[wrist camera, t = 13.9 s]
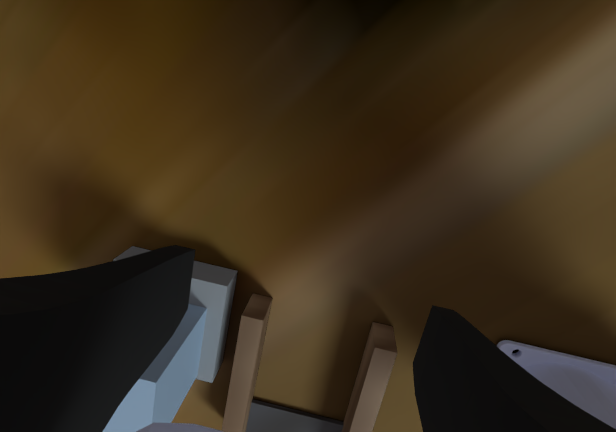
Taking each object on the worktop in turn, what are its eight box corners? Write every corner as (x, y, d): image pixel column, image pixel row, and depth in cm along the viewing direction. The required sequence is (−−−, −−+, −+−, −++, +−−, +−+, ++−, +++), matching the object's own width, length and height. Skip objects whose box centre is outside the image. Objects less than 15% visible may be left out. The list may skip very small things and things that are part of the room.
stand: (237, 271, 24) (227, 286, 22) (222, 361, 25) (212, 382, 24) (132, 246, 24) (113, 259, 22) (125, 337, 26) (107, 357, 24)
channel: (393, 326, 23) (397, 352, 21) (352, 455, 27) (352, 491, 24) (252, 293, 24) (241, 315, 21) (229, 424, 27) (217, 456, 24)
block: (207, 308, 22) (156, 382, 16) (197, 374, 24) (147, 465, 18) (128, 289, 22) (51, 356, 17) (123, 356, 24) (50, 440, 18)
